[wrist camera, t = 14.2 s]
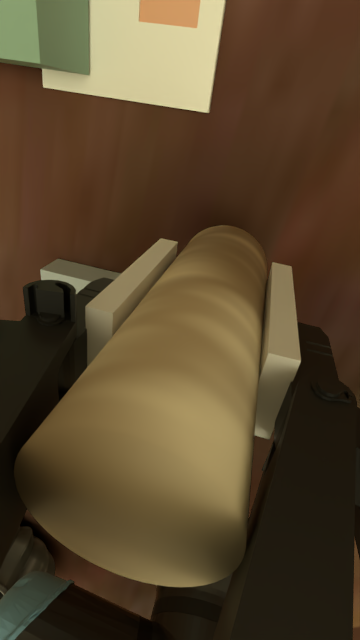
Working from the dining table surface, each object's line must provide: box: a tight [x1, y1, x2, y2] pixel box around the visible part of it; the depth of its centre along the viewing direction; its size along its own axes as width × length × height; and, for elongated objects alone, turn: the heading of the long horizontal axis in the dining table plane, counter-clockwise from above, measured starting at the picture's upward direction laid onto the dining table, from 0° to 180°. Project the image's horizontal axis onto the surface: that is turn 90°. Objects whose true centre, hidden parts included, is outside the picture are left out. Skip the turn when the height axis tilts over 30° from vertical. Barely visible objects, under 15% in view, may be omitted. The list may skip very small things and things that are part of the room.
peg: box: [14, 225, 268, 587], centre depth 11 cm, size 4×4×12 cm
